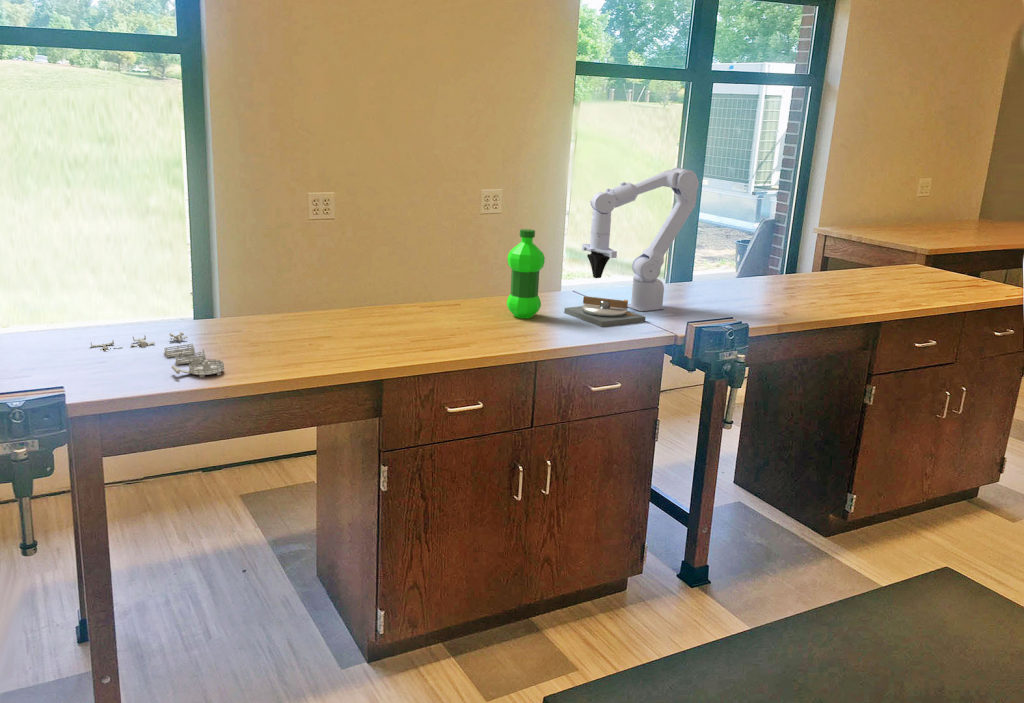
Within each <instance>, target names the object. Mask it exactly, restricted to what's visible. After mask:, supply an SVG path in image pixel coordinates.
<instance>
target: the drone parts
mask: <svg viewBox="0 0 1024 703" xmlns="http://www.w3.org/2000/svg"><path fill="white" fill-rule="evenodd" d="M168 336H170V338H169V340H172V341H179V342H180V341H182V340H183V339H184V340H185V339H188V336H187V335H185V336H184V332H183V331H180V332H179V334H178V335H174V334H173V333H171V332H170V333H169V334H168ZM132 340H133V342H137V344H132V343H131V344H130V347H135V348H137V347H136V346H139V347H142V348H147V347H150V346H152V345H154V344H156V342H155V341H151V342H147V341H146V340H147V337H146V335H145V334H144V337H143V338H140V337H139V338H138V339H135V337H134V336H132ZM112 344H113V345H115V342H114V340H112V342H109V343H105V344H104V343H102V344H92V342H90V346H91V348H97V347H98V348H99V349H100V351H104V352H107V351H106V350H108V348H109V346H113V345H112ZM106 345H108V346H106ZM99 346H103V347H101V348H100V347H99ZM146 346H147V347H146ZM118 347H119V346H118ZM103 349H104V350H103ZM118 349H123V346H120V347H119V348H118ZM201 350H202V351H198V352H196V351H195V346H194V344H193V343H189V344H183V345H181V344H180V345H175V346H168V347H164V350H163V351H164V352H163V354H164V355H165V356H166V358H168V359H169V358H173V357H174V358H175V359H174V360H175V361H174V362H175V364H176V365H177V366H179V365H184V364H188V366H189V368H188V370H186V369H185V370H184V369H181V368H178V367H177V366H175V365H171V369H172V370H173V371H174V372H175V373H176V375H180V373H183V374H192V375H196V376H199V378H205V377H206V375H207V376H208V375H214V374H216V375H217V376H221V375H222V372H223V371H224V370H225V363H224V361H223V360H220V359H211V358H208V359H207V357H206V356H207V355H206V354H205V349H203V348H202V349H201ZM108 351H109V350H108Z"/></svg>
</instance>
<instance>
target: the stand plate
mask: <svg viewBox="0 0 1024 703" xmlns="http://www.w3.org/2000/svg"><path fill="white" fill-rule="evenodd" d="M563 313H564V314H566V315H568V316H571V317H575V318H577V319H580V320H581V321H585V322H588V323H590V324H593V325H595V326H598V327H601V328H606V327H613V326H614V327H615V326H621V325H628V324H637V323H645V322H646V316H644V315H641V314H638V313H636V312H632V311H631V310H627V314H626V315H623V316H615V317H607V316H597V315H591V314H588V313H585V312H584V311H583V305H581V306H571V307H564V312H563Z"/></svg>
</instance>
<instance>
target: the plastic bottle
mask: <svg viewBox="0 0 1024 703" xmlns="http://www.w3.org/2000/svg"><path fill="white" fill-rule="evenodd" d="M519 237H520V238H521V242H519V243H517V244H516V246H514V247H512V249H511V250H510V251H509V252H508V254H507V264H508V266H509V268H510V270H511V277H510V279H511V280H510V294H508V297H507V300H506V307H507V310H509V312H510V313H511V314H512V315H513V316H514V317H515V318H518V319H531V318H533V316H534V315H536V314H537V313H538V312H539V311H540V309H541V307H542V301H541V299H540V297H539V287H540V285H539V284H540V271H541V270H542V269H543V268H544V265H545V256H544V253H543V252H542V250H540V248H539V247H538V246H537V245H536V244H534V242H533V241H534V238H535V237H536V230H535V229H530V228H529V229H528V228H526V229H523V228H521V229H519Z"/></svg>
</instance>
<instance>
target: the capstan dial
mask: <svg viewBox="0 0 1024 703" xmlns="http://www.w3.org/2000/svg"><path fill="white" fill-rule="evenodd" d="M582 299H583V301H582V304H583V305H582V306H583V311H584V312H585V313H588V314H591V315H597V316H607V317H615V316H623V315H626V314H627V311H628V308H629V307H628V304H629V300H628V299H624V300H620V299H613V298H604V297H595V296H587V295H586V296H585V295H584V296H583V298H582Z"/></svg>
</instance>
